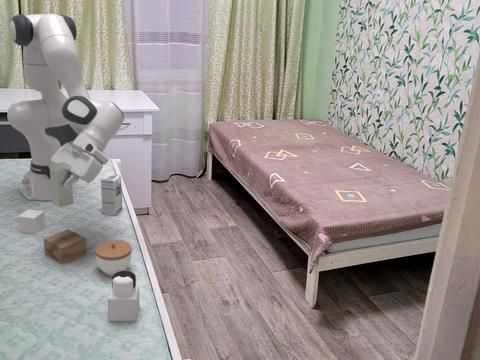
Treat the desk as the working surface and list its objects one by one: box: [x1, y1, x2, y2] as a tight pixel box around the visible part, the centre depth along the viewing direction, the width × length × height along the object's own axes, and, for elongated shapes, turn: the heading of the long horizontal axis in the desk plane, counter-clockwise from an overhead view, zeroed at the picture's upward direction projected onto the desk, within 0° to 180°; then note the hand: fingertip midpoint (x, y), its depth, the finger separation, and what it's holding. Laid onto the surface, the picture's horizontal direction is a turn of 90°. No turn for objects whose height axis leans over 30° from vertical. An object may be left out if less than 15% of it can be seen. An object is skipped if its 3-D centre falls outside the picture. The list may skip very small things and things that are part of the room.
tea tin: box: [49, 162, 74, 208], centre depth 149 cm, size 5×5×12 cm
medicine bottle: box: [107, 270, 140, 322], centre depth 129 cm, size 7×7×12 cm
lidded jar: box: [94, 239, 133, 277], centre depth 149 cm, size 11×11×9 cm
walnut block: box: [43, 228, 88, 265], centre depth 156 cm, size 9×9×6 cm
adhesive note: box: [17, 209, 46, 235], centre depth 171 cm, size 6×6×6 cm
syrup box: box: [100, 173, 123, 216], centre depth 186 cm, size 6×6×14 cm
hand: (59, 184), depth 148 cm, fingers closed on tea tin, 4 cm apart
